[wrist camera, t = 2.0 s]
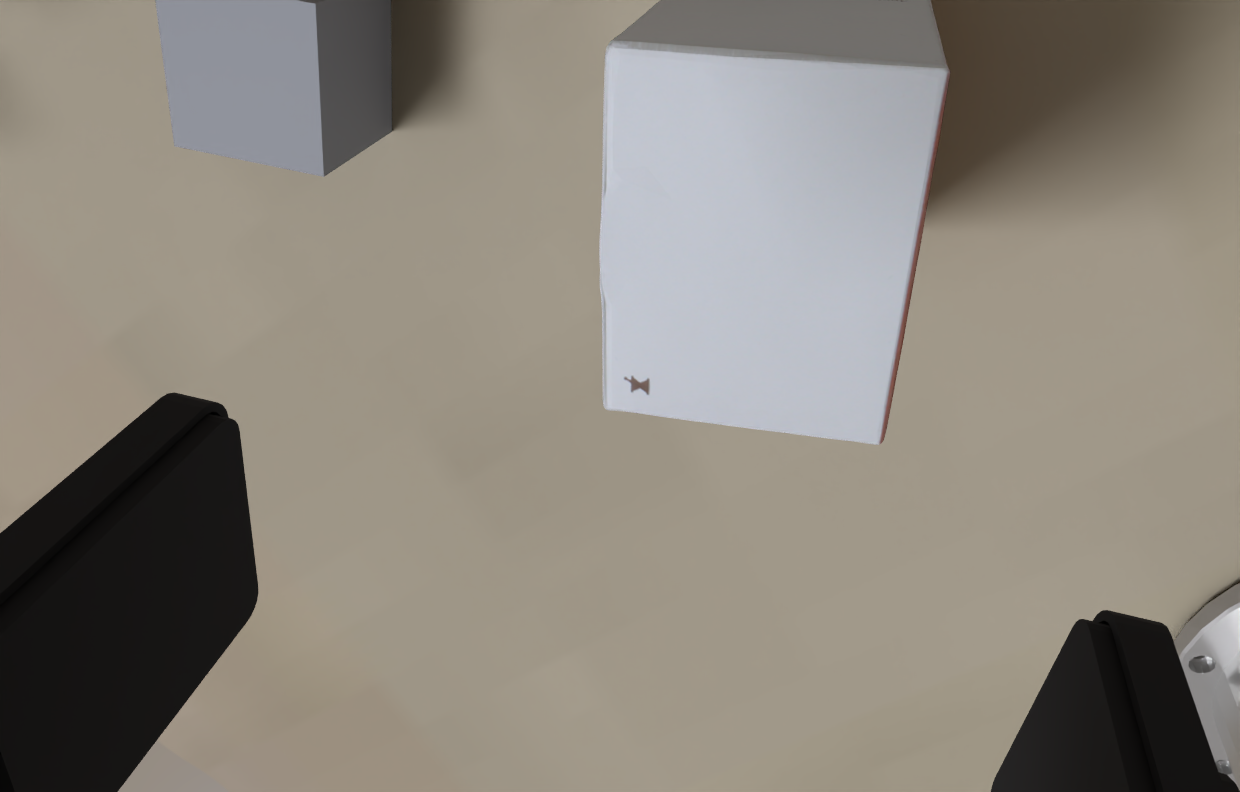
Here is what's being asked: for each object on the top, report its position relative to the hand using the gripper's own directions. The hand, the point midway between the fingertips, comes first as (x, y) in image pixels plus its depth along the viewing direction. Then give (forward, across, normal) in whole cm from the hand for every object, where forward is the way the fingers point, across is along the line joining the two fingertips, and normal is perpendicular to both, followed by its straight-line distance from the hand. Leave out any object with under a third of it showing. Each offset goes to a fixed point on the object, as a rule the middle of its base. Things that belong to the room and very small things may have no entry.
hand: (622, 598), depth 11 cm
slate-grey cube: (+23, +16, +1) cm, 28 cm away
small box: (+23, -1, 0) cm, 23 cm away
